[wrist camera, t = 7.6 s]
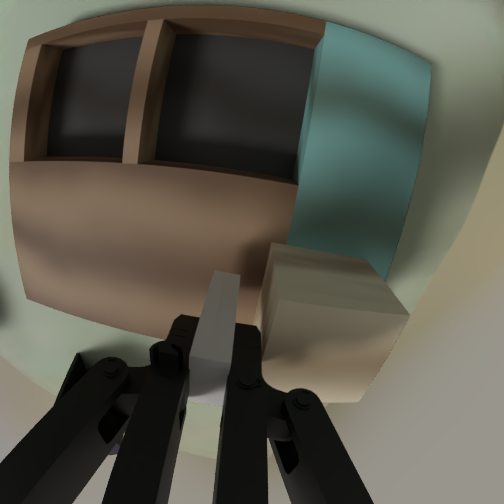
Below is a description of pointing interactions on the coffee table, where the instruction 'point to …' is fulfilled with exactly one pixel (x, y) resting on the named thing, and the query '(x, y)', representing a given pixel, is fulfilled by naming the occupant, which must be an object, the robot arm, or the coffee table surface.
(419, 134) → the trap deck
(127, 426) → the robot arm
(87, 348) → the coffee table surface
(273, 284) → the birch block
